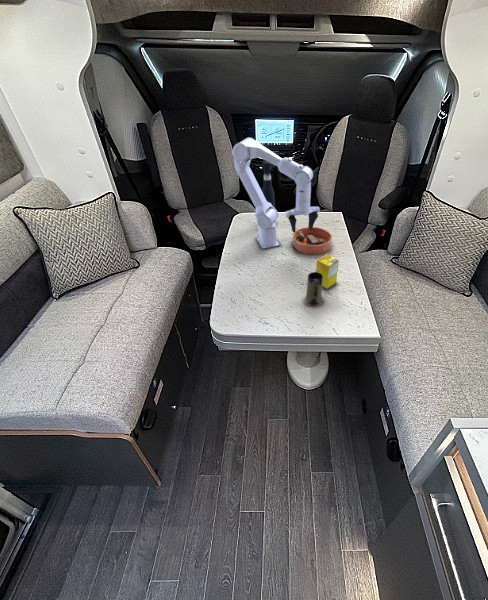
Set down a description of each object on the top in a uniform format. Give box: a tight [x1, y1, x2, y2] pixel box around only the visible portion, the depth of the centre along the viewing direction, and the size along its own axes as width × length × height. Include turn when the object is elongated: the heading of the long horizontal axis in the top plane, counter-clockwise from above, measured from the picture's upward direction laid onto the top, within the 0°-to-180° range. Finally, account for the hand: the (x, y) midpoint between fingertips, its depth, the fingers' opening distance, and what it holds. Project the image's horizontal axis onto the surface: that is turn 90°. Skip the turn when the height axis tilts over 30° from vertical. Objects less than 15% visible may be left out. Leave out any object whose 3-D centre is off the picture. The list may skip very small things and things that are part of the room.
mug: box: [305, 271, 323, 307], centre depth 118 cm, size 8×6×12 cm
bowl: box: [292, 226, 333, 255], centre depth 152 cm, size 17×17×4 cm
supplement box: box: [315, 253, 340, 291], centre depth 127 cm, size 6×6×11 cm
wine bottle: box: [261, 160, 276, 209], centre depth 160 cm, size 6×6×30 cm
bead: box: [298, 234, 305, 241], centre depth 155 cm, size 3×3×3 cm
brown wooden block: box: [307, 235, 318, 245], centre depth 152 cm, size 7×3×3 cm, turn 21°
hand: (302, 230), depth 145 cm, fingers open, 7 cm apart
